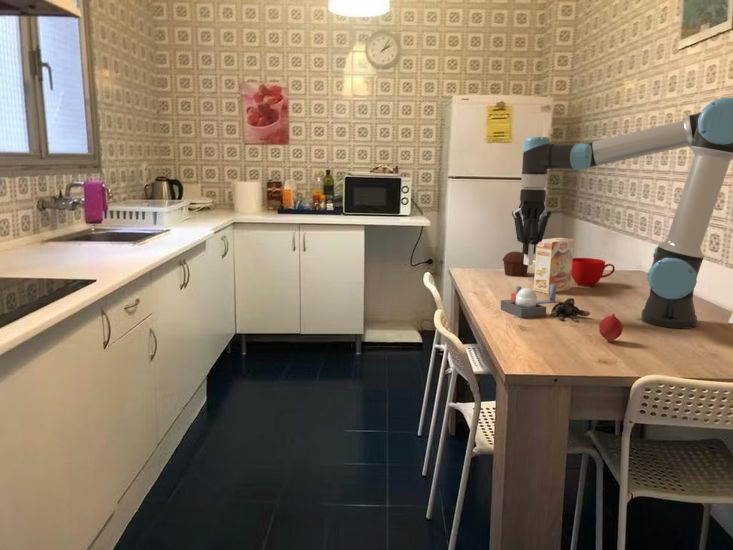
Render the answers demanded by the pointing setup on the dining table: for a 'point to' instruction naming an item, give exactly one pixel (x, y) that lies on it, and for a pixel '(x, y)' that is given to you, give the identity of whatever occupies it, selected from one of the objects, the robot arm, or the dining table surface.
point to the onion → (610, 328)
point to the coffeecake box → (553, 264)
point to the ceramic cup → (588, 271)
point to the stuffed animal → (568, 310)
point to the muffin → (515, 264)
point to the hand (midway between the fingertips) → (528, 264)
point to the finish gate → (552, 300)
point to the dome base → (522, 312)
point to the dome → (526, 298)
